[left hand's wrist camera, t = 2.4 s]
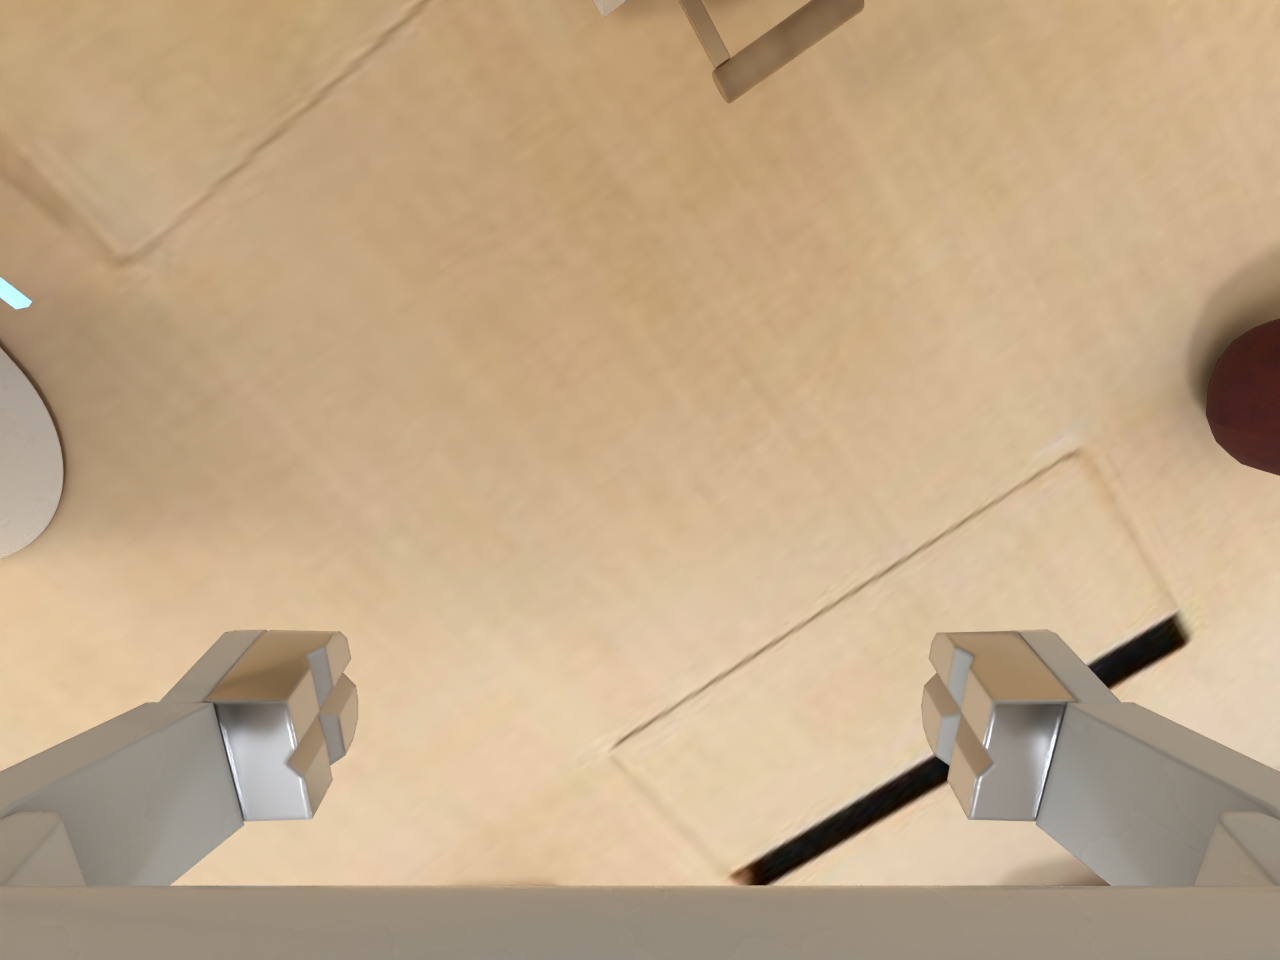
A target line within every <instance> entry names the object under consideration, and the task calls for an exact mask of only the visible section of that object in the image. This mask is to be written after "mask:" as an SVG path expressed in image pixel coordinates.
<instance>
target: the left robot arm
mask: <svg viewBox="0 0 1280 960" xmlns="http://www.w3.org/2000/svg"><path fill="white" fill-rule="evenodd" d="M0 297H1V298H2V299H3V300H4V301H6V302H7V303H8V304H10V305H11V306H12V307H14V308H15V309H19V308H24V307H28V306H29V305H30V304H31V302H32V301H30V300H29V299H28V298H27V297H25V296H24V295H23V294H21V293H20V292H19V291H17V290H16V289H15V288H14V287H12V286H11V285H10V284H8V283H7V282H6V281H4V280H3V279H2V278H1V277H0ZM63 472H64V469H63V458H62V451H61V446H60V442H59V438H58V435H57V432H56V429H55V426H54V424H53V421H52V419H51V417H50V414H49V412H48V410H47V408H46V406H45V405H44V403H43V401H42V399H41V398H40V396H39V394H38V393H37V391H36V390H35V388H34V387H33V385H32V384H31V383H30V381H29V380H28V379H27V377H26V376H25V375H24V374H23V372H22V371H21V370H20V369H19V368H18V366H17V365H16V364H15V363H14V362H13V361H12V360H11V359H10V357H9V356H8V355H7V354H6V353H5V352H4V351H3V350H2V348H1V347H0V559H1V558H4V557H7V556H9V555H11V554H14V553H16V552H18V551H19V550H21V549H23V548H24V547H26V546H27V545H29V544H30V543H31V542H33V541H34V540H35V539H36V538H37V537H38V536H39V535H40V534H41V533H42V532H43V531H44V530H45V528H46V527H47V526H48V524H49V523H50V521H51V520H52V518H53V516H54V514H55V512H56V509H57V507H58V504H59V501H60V497H61V493H62V488H63ZM350 660H351V655H350V650H349V646H348V641H347V638H346V637H345V636H344V635H343V634H342V633H341V632H336V631H287V630H270V631H267V630H233V631H229V632H225V633H224V634H223V635H222V636H221V637H220V638H219V639H218V640H217V641H216V642H215V643H214V644H213V646H212V647H211V648H210V649H209V650H208V651H207V652H206V653H205V654H204V655H203V656H202V657H201V658H200V659H199V660H198V661H197V662H196V664H195V665H194V666H193V667H192V668H191V669H190V670H189V671H188V672H187V673H186V674H185V675H184V676H183V677H182V678H181V679H180V681H179V682H178V683H177V684H176V685H175V686H174V687H173V688H172V689H171V690H170V691H169V692H168V693H167V694H166V695H165V696H164V697H163V699H162V700H161V701H160V702H159V703H145V704H143V705H140V706H138V707H136V708H134V709H132V710H130V711H128V712H126V713H124V714H121V715H119V716H117V717H115V718H113V719H111V720H109V721H107V722H105V723H102V724H100V725H98V726H96V727H94V728H92V729H90V730H88V731H85V732H83V733H81V734H79V735H77V736H75V737H73V738H71V739H69V740H66V741H64V742H62V743H60V744H58V745H56V746H54V747H52V748H50V749H47V750H45V751H43V752H41V753H39V754H37V755H35V756H33V757H30V758H28V759H26V760H24V761H22V762H20V763H18V764H16V765H14V766H11V767H9V768H7V769H5V770H3V771H1V772H0V960H1280V772H1279V771H1277V770H1275V769H1272V768H1270V767H1268V766H1266V765H1264V764H1262V763H1260V762H1258V761H1256V760H1253V759H1251V758H1249V757H1247V756H1245V755H1243V754H1241V753H1239V752H1237V751H1234V750H1232V749H1230V748H1228V747H1226V746H1224V745H1222V744H1220V743H1218V742H1215V741H1213V740H1211V739H1209V738H1207V737H1205V736H1203V735H1201V734H1199V733H1196V732H1194V731H1192V730H1190V729H1188V728H1186V727H1184V726H1182V725H1180V724H1178V723H1175V722H1173V721H1171V720H1169V719H1167V718H1165V717H1163V716H1161V715H1159V714H1156V713H1154V712H1152V711H1150V710H1148V709H1146V708H1144V707H1142V706H1140V705H1137V704H1135V703H1121V702H1120V701H1119V700H1118V698H1117V697H1116V696H1115V695H1114V694H1113V693H1112V692H1111V691H1110V690H1109V689H1108V688H1107V687H1106V686H1105V685H1104V684H1103V683H1102V681H1101V680H1100V679H1099V678H1098V677H1097V676H1096V675H1095V674H1094V673H1093V672H1092V671H1091V670H1090V669H1089V668H1088V667H1087V666H1086V664H1085V663H1084V662H1083V661H1082V660H1081V659H1080V658H1079V657H1078V656H1077V655H1076V654H1075V653H1074V652H1073V651H1072V650H1071V649H1070V647H1069V646H1068V645H1067V644H1066V643H1065V642H1064V641H1063V640H1062V639H1061V638H1060V637H1059V636H1058V635H1057V634H1056V633H1054V632H1052V631H1049V630H1047V629H1045V630H1017V631H994V632H949V633H936V635H935V637H934V639H933V641H932V644H931V649H930V655H929V660H930V661H931V663H932V665H933V666H934V668H935V670H936V671H937V673H936V674H935V675H934V676H933V677H932V678H931V679H930V680H929V681H928V682H927V683H926V684H925V685H924V691H923V698H922V718H923V727H924V731H925V734H926V737H927V741H928V743H929V745H930V747H931V749H932V751H933V753H934V755H935V756H937V757H938V758H940V759H941V760H942V761H944V762H945V763H947V764H948V765H950V769H949V774H948V779H947V780H948V782H949V784H950V786H951V788H952V790H953V792H954V793H955V795H956V797H957V799H958V801H959V803H960V805H961V807H962V809H963V810H964V812H965V814H966V816H967V818H968V819H969V820H1005V821H1037V822H1036V825H1037V826H1038V827H1040V828H1041V829H1042V830H1043V831H1044V832H1046V833H1047V834H1048V835H1049V836H1051V837H1052V838H1053V839H1054V840H1055V841H1057V842H1058V843H1059V844H1060V845H1062V846H1063V847H1064V848H1065V849H1067V850H1068V851H1069V852H1070V853H1071V854H1073V855H1074V856H1075V857H1076V858H1078V859H1079V860H1080V861H1081V862H1083V863H1084V864H1085V865H1086V866H1087V867H1089V868H1090V869H1091V870H1092V871H1094V872H1095V873H1096V874H1097V875H1098V876H1100V877H1101V878H1102V879H1103V880H1105V881H1106V882H1107V883H1108V884H1110V885H1111V886H169V885H171V884H172V883H173V882H174V881H176V880H177V879H178V878H179V877H181V876H182V875H183V874H184V873H185V872H187V871H188V870H189V869H190V868H192V867H193V866H194V865H195V864H197V863H198V862H199V861H200V860H201V859H203V858H204V857H205V856H206V855H208V854H209V853H210V852H211V851H213V850H214V849H215V848H216V847H217V846H219V845H220V844H221V843H222V842H224V841H225V840H226V839H227V838H229V837H230V836H231V835H232V834H233V833H235V832H236V831H237V830H238V829H240V828H241V827H242V826H243V825H244V822H243V821H274V820H309V819H312V818H313V816H314V814H315V813H316V811H317V809H318V807H319V805H320V803H321V801H322V799H323V797H324V795H325V793H326V792H327V790H328V788H329V786H330V784H331V782H332V780H333V779H332V774H331V768H330V765H332V764H333V763H335V762H336V761H338V760H339V759H340V758H342V757H343V756H345V755H346V753H347V751H348V749H349V747H350V745H351V743H352V741H353V738H354V734H355V729H356V725H357V720H358V696H357V690H356V685H355V684H354V683H353V682H352V681H351V680H350V679H349V678H348V677H347V676H346V675H345V674H344V673H343V671H344V670H345V668H346V666H347V665H348V663H349V661H350Z"/></svg>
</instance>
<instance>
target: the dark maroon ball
mask: <svg viewBox="0 0 1280 960" xmlns="http://www.w3.org/2000/svg"><path fill="white" fill-rule="evenodd" d="M1206 416H1207V419H1208V422H1209V425H1210V428H1211V431H1212V433H1213V435H1214V438H1215V440H1216V442H1217V443H1218V444H1219V445H1220V446H1221V447H1222V448H1223V449H1225V450H1226V451H1227V452H1228V453H1229V454H1230V455H1231V456H1232V457H1233V458H1235V459H1236V460H1237V461H1239V462H1240V463H1241V464H1244V465H1247V466H1250V467H1253V468H1256V469H1259V470H1262V471H1266V472H1269V473H1272V474H1276V475H1279V476H1280V319H1277V320H1274V321H1271V322H1268V323H1265V324H1263V325H1260V326H1258V327H1255V328H1253V329H1251V330H1249V331H1248V332H1246V333H1245V334H1243V335H1242V336H1240V337H1239V338H1237V339H1236V340H1234V341H1233V342H1232V344H1231V345H1230V346H1229V347H1228V349H1227V350H1226V351H1225V352H1224V353H1223V355H1222V356H1221V357H1220V358H1219V360H1218V362H1217V364H1216V367H1215V370H1214V373H1213V375H1212V378H1211V381H1210V383H1209V386H1208V395H1207V408H1206Z"/></svg>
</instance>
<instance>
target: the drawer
mask: <svg viewBox="0 0 1280 960" xmlns="http://www.w3.org/2000/svg"><path fill="white" fill-rule="evenodd" d="M625 1H627V0H593V2H594V3H595V5H596V7H597V9H598V10H599V12H600V14H601V16H602V17H606V16H607V15H608V14H610V13H611V12H612V11H614V10H615V9H616V8H618V7H619V6H620V5H622V4H623V3H624V2H625ZM678 1H679V3H680V5H681V7H682V8H683V10H684V12H685V14H686V16H687V18H688V20H689V21H690V23H691V25H692V27H693V29H694V31H695V33H696V34H697V36H698V38H699V40H700V42H701V44H702V46H703V48H704V49H705V51H706V53H707V55H708V57H709V59H710V61H711V62H712V64H713V66H714V68H715V70H713V72H712V76H713V80H714V82H715V84H716V86H717V88H718V90H719V92H720V94H721V95H722V97H723V98H724V100H725V101H726V102H727V103H731V102H733V101H734V100H736V99H737V98H738V97H740V96H741V95H743V94H744V93H746V92H747V91H748V90H750V89H751V88H753V87H754V86H755V85H757V84H758V83H760V82H761V81H763V80H764V79H765V78H767V77H768V76H770V75H771V74H773V73H774V72H775V71H777V70H778V69H780V68H781V67H783V66H784V65H785V64H787V63H788V62H790V61H791V60H793V59H794V58H795V57H797V56H798V55H800V54H801V53H802V52H804V51H805V50H807V49H808V48H810V47H811V46H812V45H814V44H815V43H817V42H818V41H820V40H821V39H822V38H824V37H825V36H827V35H828V34H830V33H831V32H832V31H834V30H835V29H837V28H838V27H839V26H841V25H842V24H844V23H845V22H847V21H848V20H849V19H851V18H852V17H854V16H855V15H857V14H858V13H859V12H861V11H862V10H863V8H864V0H811V1H810V2H809V3H807V4H806V5H804V6H803V7H802V8H800V9H799V10H797V11H796V12H795V13H793V14H792V15H790V16H789V17H788V18H786V19H785V20H783V21H782V22H781V23H779V24H778V25H776V26H775V27H774V28H772V29H771V30H769V31H768V32H767V33H765V34H764V35H762V36H761V37H760V38H758V39H757V40H755V41H754V42H753V43H751V44H750V45H748V46H747V47H746V48H744V49H743V50H741V51H740V52H739V53H737V54H736V55H734V56H733V57H732V58H730V55H729V53H728V51H727V49H726V47H725V45H724V43H723V41H722V39H721V38H720V36H719V34H718V32H717V30H716V28H715V26H714V24H713V22H712V20H711V19H710V17H709V15H708V13H707V11H706V9H705V7H704V5H703V3H702V1H701V0H678ZM729 58H730V59H729Z"/></svg>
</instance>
